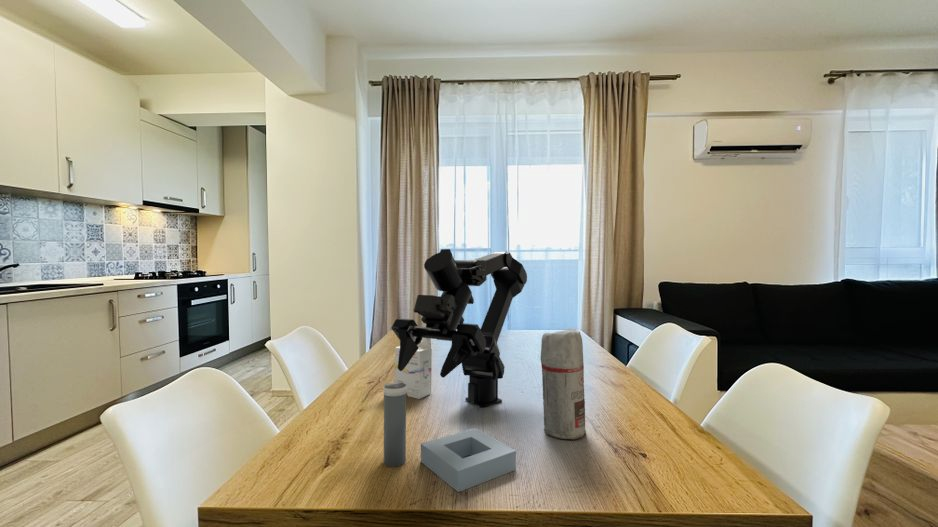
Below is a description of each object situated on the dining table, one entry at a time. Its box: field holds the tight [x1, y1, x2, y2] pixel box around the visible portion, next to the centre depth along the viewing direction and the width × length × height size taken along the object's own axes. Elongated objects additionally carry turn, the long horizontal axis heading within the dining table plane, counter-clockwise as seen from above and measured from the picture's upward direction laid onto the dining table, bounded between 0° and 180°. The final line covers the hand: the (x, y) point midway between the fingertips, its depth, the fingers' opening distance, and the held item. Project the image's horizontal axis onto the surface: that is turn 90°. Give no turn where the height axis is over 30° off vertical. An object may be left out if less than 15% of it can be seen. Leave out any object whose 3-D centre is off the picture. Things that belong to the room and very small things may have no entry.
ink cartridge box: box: [394, 338, 433, 400], centre depth 102 cm, size 9×5×15 cm, turn 58°
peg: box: [383, 381, 407, 468], centre depth 66 cm, size 4×4×12 cm
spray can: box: [540, 328, 587, 440], centre depth 79 cm, size 8×8×20 cm
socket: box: [420, 427, 517, 493], centre depth 65 cm, size 11×11×3 cm
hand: (419, 372), depth 73 cm, fingers open, 9 cm apart
